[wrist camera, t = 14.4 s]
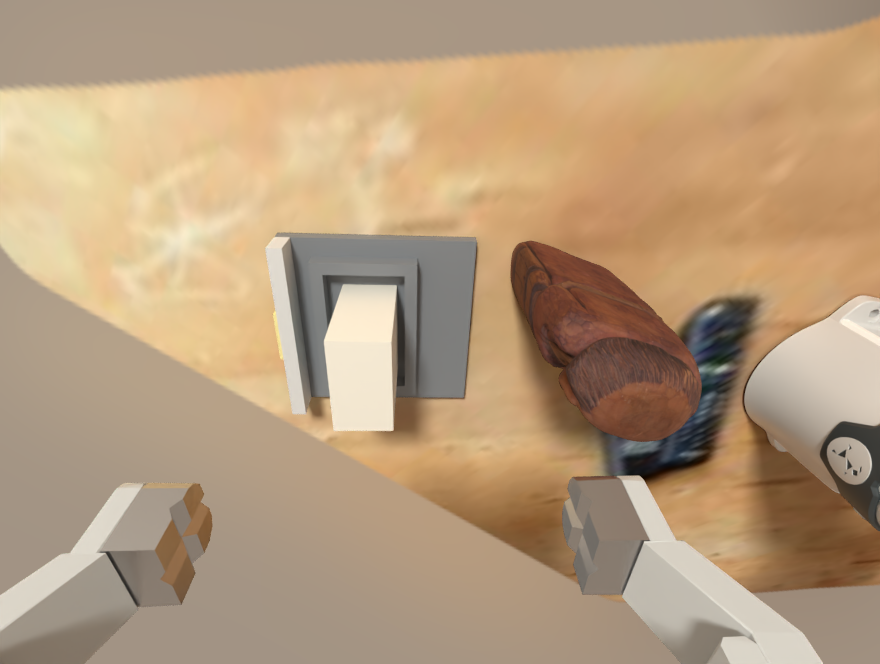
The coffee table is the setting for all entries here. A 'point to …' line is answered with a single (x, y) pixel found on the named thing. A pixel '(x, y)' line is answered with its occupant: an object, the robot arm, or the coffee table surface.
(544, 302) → the wooden figurine
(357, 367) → the product carton
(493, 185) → the coffee table surface
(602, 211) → the coffee table surface
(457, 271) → the display base
